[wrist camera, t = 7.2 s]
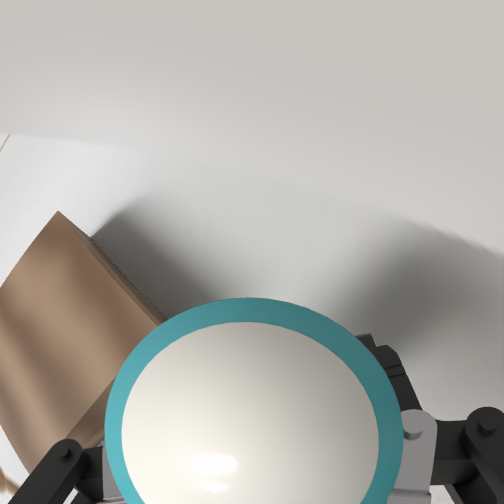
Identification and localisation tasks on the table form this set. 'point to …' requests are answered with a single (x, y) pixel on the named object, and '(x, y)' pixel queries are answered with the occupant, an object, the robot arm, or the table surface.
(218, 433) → the tumbler
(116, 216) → the table surface
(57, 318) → the wooden square base
